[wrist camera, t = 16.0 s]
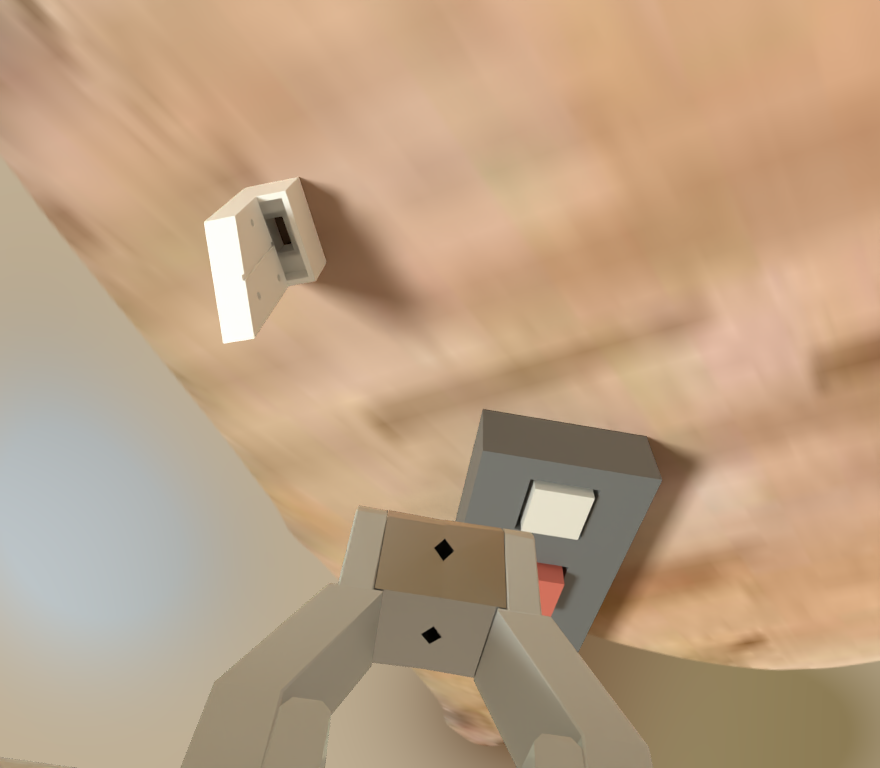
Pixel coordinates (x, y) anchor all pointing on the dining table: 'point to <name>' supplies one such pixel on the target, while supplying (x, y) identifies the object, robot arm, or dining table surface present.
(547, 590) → the red button
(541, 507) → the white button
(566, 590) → the button console
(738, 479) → the dining table surface
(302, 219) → the white angled block
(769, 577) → the dining table surface
